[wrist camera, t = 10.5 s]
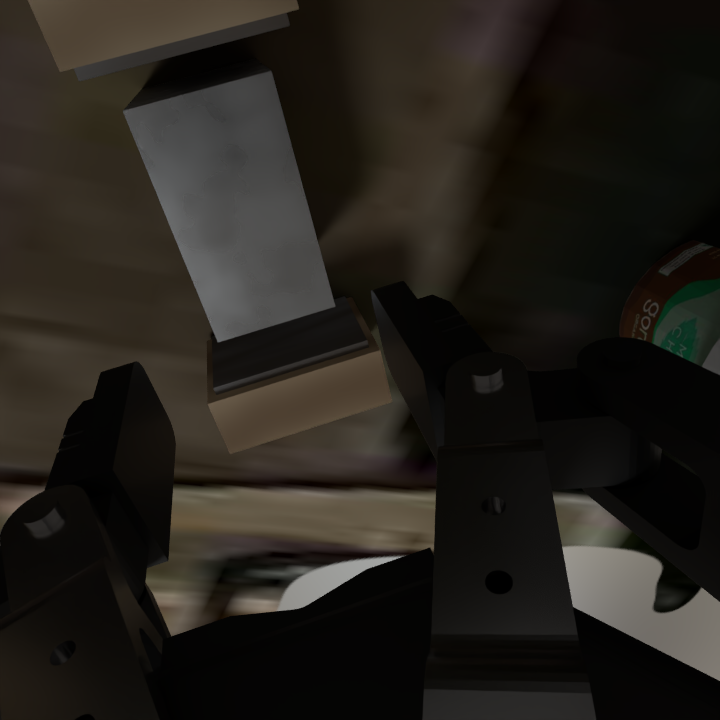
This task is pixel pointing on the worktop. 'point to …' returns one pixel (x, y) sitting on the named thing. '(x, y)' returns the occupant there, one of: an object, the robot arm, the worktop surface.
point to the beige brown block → (147, 29)
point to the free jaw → (294, 376)
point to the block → (232, 196)
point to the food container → (679, 305)
